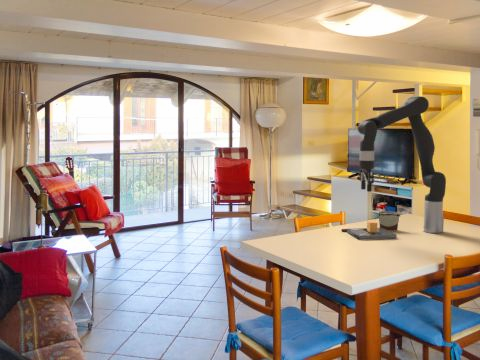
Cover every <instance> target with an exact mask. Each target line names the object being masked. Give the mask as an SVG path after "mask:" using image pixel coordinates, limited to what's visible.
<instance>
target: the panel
mask: <svg viewBox="0 0 480 360" xmlns="http://www.w3.org/2000/svg"><path fill="white" fill-rule="evenodd" d="M346 229H347V230H349V231H350V232H352V233H354V234H355V235H357V236H358V237H359V239H358V240H360V241H362V240H363V241H364V240H367V241H368V240H389V239H390V240H391V239H392V240H393V239H395V238H398V237H397V234H396V233H394V232H393V231H388V230H386V229H384V228H380V227H377V232H375V235H372V234H370V233H369V232H368V231H367V227H361V228H360V227H358V228H355V227H354V228H346Z"/></svg>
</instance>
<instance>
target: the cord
mask: <svg viewBox="0 0 480 360" xmlns="http://www.w3.org/2000/svg"><path fill="white" fill-rule="evenodd" d="M346 233H347V234H349V235H351V236H353V238H355V239H357V240H359V237H358V236H357V235H355V234H354V233H352V232H350V231H349V230H347V231H346Z"/></svg>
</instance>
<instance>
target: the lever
mask: <svg viewBox="0 0 480 360" xmlns="http://www.w3.org/2000/svg"><path fill="white" fill-rule="evenodd" d="M366 228H367V231H368V232H369V233H370V234H372V235H375V232H377V228H378V222H377V221H375V220H374V221H366Z"/></svg>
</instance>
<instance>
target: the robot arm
mask: <svg viewBox="0 0 480 360" xmlns="http://www.w3.org/2000/svg"><path fill="white" fill-rule="evenodd" d="M429 106H430V103H429V100H428V99H427V98H426V97H425V96H411V97H409V98H407V99H406V100H405V102H404V105H403V106H401V107H398V108H397V107H396V108H394V109H392V110H391V109H390V110H387V111H385V112H383V113H381V114H379V115H377V116H374V117H371V118H368V119H365V120H362V121H361V122H360V123H359V124H358V125H357V130H358V132H359V134H362V135H364V136H363V139H361V140H360V142H359V143H360V144H359V161H358V163H359V164H358V167H359V180H358V181H360V189H361V190H366V191H367V192H368V193H369V192H370V193H371V192H372V190H373V189H372V188H373V186H372V185H373V184H374V182H375V176H374V175H375V172H374V171H372V170H373V169H375V141H376V138H377V133H378V130H379V129H380V130H381V129H384V128H387V127H389V126H390V125H394V124H395V123H397V122H400V121H402V120H404V119H407V118H408V122H409V124H410V127H411V132H412V136H413V139H414V144H415V148H416V152H417V155H418V160H419V164H420V170H421V179H422V183H423V185H424V186H426V188H429V193H427V194H425V196H424V207H423V208H424V209H423V211H424V213H423V232H425V233H430V234H440V233H444V223H445V221H444V220H445V215H444V214H443V209H444V207H443V206H444V205H443V204H444V197H445V195H446V185H447V178H446V176H445V174H444V173H442V172H440V171H436V170H435V168H434V163H433V159H434V155H435V149H436V147H435V141H434V137H433V135H432V133H431V130H429V128H428V127H427V126H426V124H425V123H424V120H423V118H422V114H424V113H425V112H427V110H428V109H429Z"/></svg>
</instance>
